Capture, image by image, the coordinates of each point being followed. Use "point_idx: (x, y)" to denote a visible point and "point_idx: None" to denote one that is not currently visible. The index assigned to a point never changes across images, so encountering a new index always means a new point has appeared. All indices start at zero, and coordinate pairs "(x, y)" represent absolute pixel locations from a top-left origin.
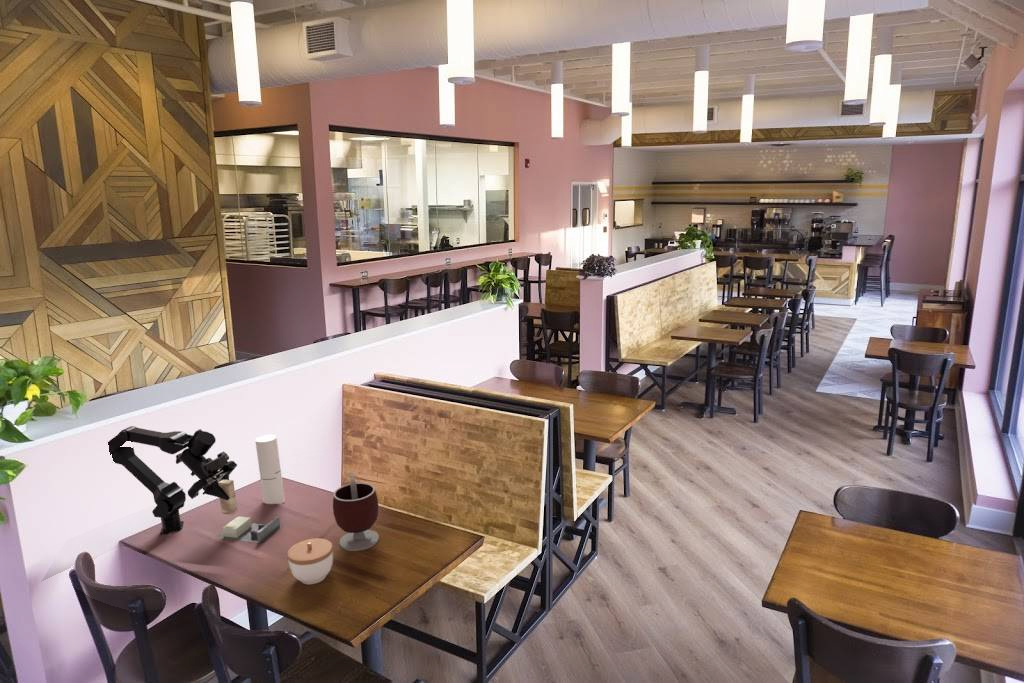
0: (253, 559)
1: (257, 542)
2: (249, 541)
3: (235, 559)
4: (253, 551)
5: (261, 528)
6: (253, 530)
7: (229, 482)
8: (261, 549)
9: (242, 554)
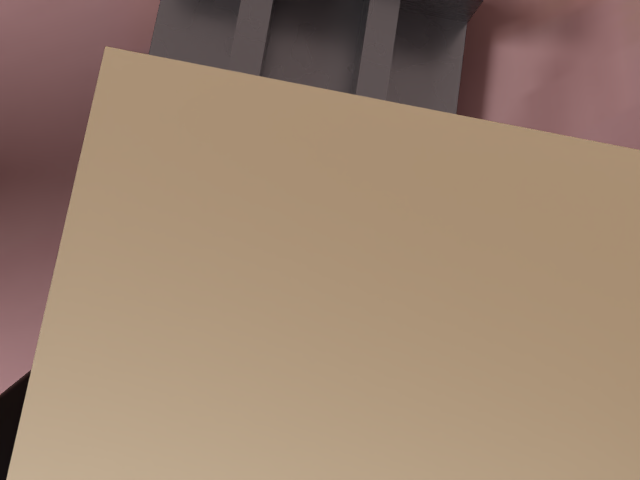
0: (621, 10)
1: (464, 27)
2: (454, 102)
3: (635, 143)
4: (518, 55)
5: (263, 60)
6: (371, 76)
7: (512, 166)
8: (486, 6)
9: (565, 121)
